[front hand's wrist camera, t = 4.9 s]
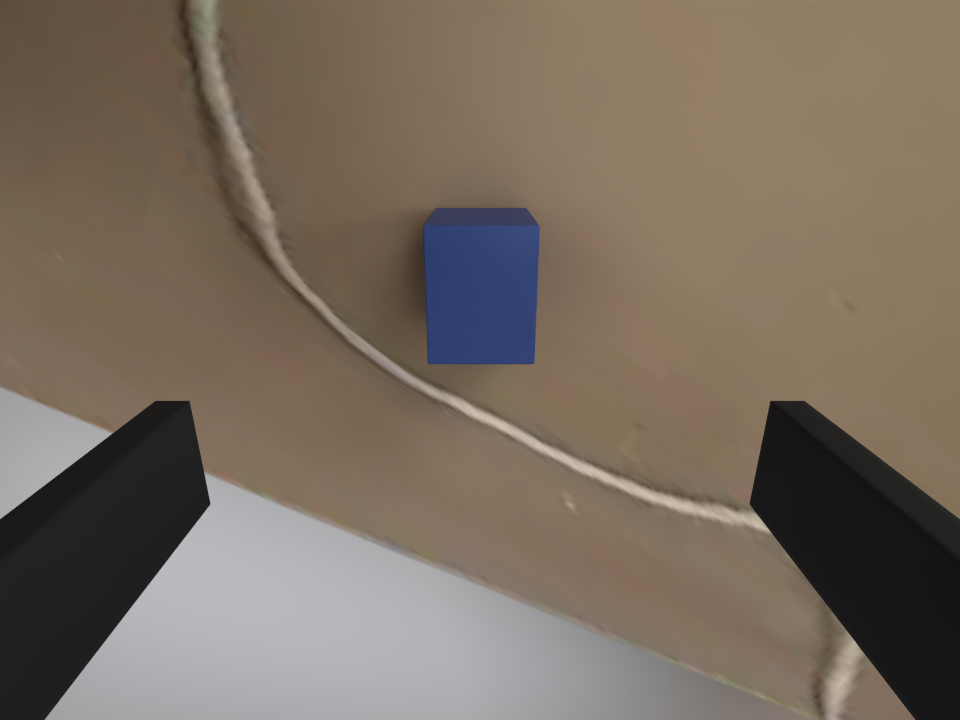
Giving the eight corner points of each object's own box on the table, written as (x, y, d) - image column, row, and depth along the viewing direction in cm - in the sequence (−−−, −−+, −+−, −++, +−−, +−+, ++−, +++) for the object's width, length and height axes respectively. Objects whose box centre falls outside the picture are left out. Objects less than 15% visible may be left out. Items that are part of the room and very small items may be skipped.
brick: (438, 320, 32) (428, 364, 26) (435, 207, 30) (422, 225, 24) (523, 320, 32) (534, 364, 26) (526, 208, 30) (539, 225, 24)
